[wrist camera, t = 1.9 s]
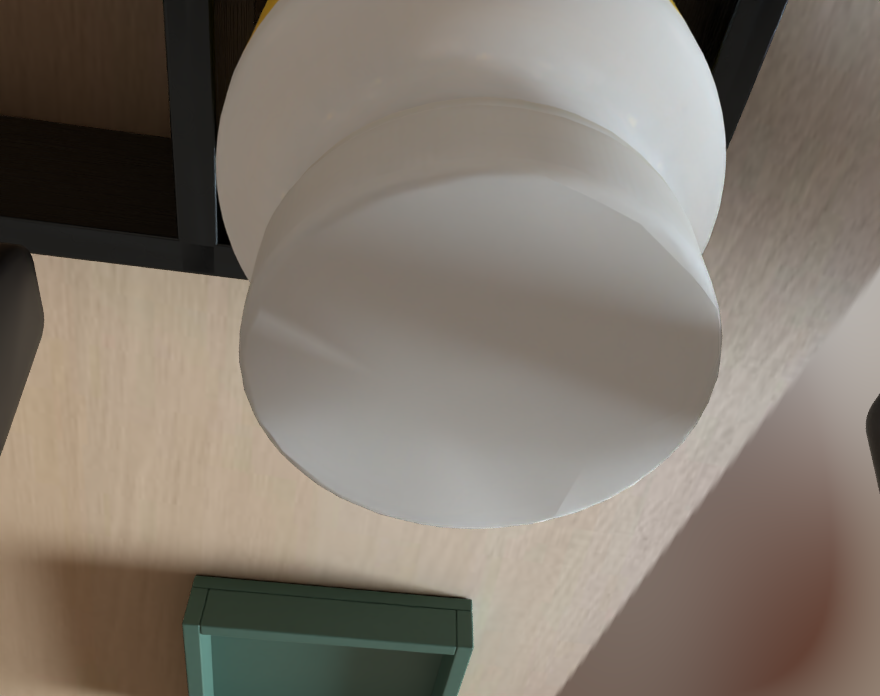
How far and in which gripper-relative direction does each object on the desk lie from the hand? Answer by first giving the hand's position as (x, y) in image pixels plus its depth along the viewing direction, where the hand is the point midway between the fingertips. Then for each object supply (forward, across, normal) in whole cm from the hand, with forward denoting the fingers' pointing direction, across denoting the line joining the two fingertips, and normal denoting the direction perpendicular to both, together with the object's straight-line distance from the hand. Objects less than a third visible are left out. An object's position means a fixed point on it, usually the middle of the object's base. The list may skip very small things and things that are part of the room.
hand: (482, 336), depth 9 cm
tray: (+11, +1, +26) cm, 29 cm away
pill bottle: (+11, 0, 0) cm, 11 cm away
